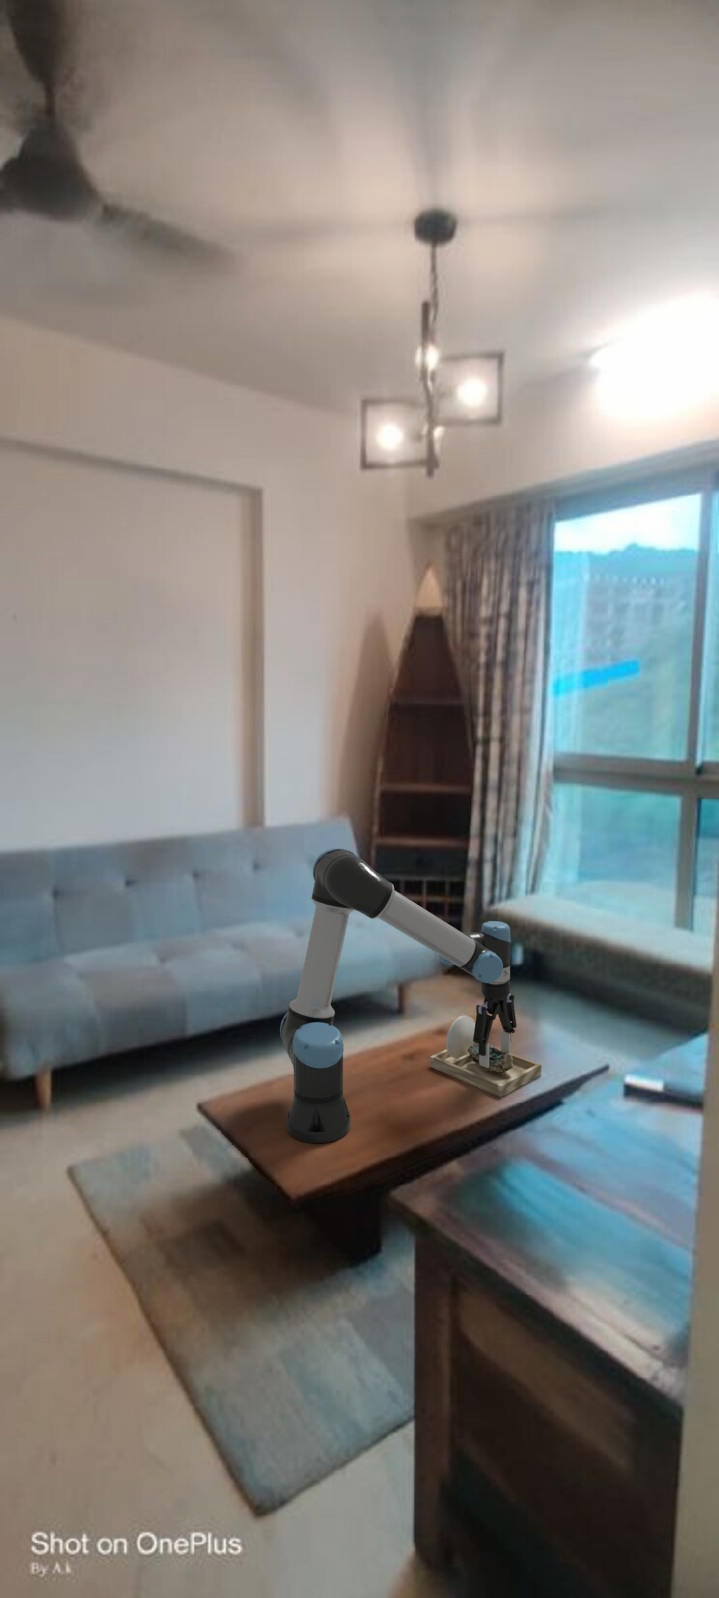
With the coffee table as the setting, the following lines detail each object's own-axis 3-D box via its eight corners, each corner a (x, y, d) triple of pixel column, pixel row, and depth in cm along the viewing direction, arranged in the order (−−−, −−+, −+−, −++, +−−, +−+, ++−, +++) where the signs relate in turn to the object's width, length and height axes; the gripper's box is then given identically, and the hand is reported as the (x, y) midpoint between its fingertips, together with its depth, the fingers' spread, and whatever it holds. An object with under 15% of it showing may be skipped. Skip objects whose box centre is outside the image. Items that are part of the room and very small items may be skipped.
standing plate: (448, 1064, 218) (449, 1022, 217) (445, 1063, 219) (446, 1021, 217) (475, 1051, 226) (476, 1011, 225) (473, 1050, 227) (473, 1010, 226)
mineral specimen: (461, 1059, 218) (469, 1036, 215) (485, 1050, 223) (493, 1028, 220) (491, 1090, 209) (500, 1067, 206) (515, 1080, 215) (524, 1057, 212)
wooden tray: (500, 1097, 202) (501, 1086, 201) (430, 1066, 219) (430, 1056, 219) (541, 1075, 214) (541, 1064, 213) (471, 1047, 231) (471, 1037, 231)
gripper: (481, 993, 201) (481, 1077, 204) (530, 973, 216) (529, 1052, 218) (459, 986, 207) (458, 1068, 209) (508, 967, 221) (507, 1044, 224)
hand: (495, 1060), depth 214 cm, fingers closed on mineral specimen, 9 cm apart
